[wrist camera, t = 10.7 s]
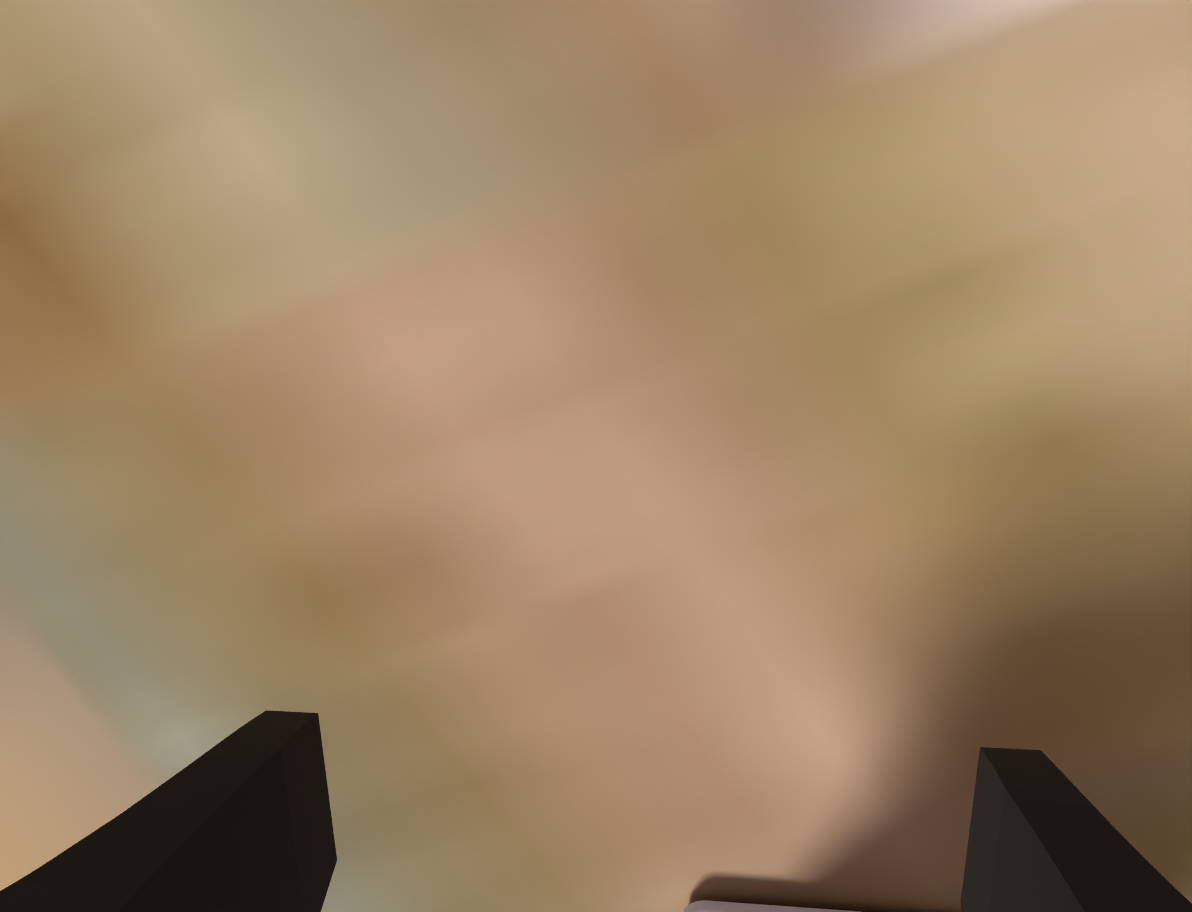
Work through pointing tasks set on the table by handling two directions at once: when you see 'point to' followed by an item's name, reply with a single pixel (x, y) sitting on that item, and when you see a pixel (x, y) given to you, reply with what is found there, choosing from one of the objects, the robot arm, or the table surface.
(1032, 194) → the table surface
